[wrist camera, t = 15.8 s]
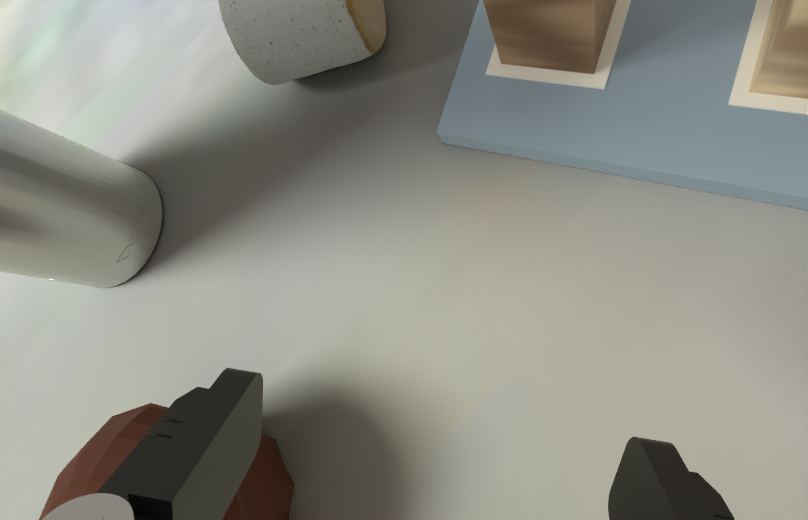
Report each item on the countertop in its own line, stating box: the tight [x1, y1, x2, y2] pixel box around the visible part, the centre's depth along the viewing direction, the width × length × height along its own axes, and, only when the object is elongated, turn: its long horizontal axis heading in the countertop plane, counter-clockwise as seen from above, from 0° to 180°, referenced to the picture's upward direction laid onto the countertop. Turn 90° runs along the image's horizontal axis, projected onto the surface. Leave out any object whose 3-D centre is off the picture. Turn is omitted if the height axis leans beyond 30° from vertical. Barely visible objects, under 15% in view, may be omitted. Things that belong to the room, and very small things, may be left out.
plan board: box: [436, 0, 808, 210], centre depth 26 cm, size 22×14×2 cm, turn 71°
